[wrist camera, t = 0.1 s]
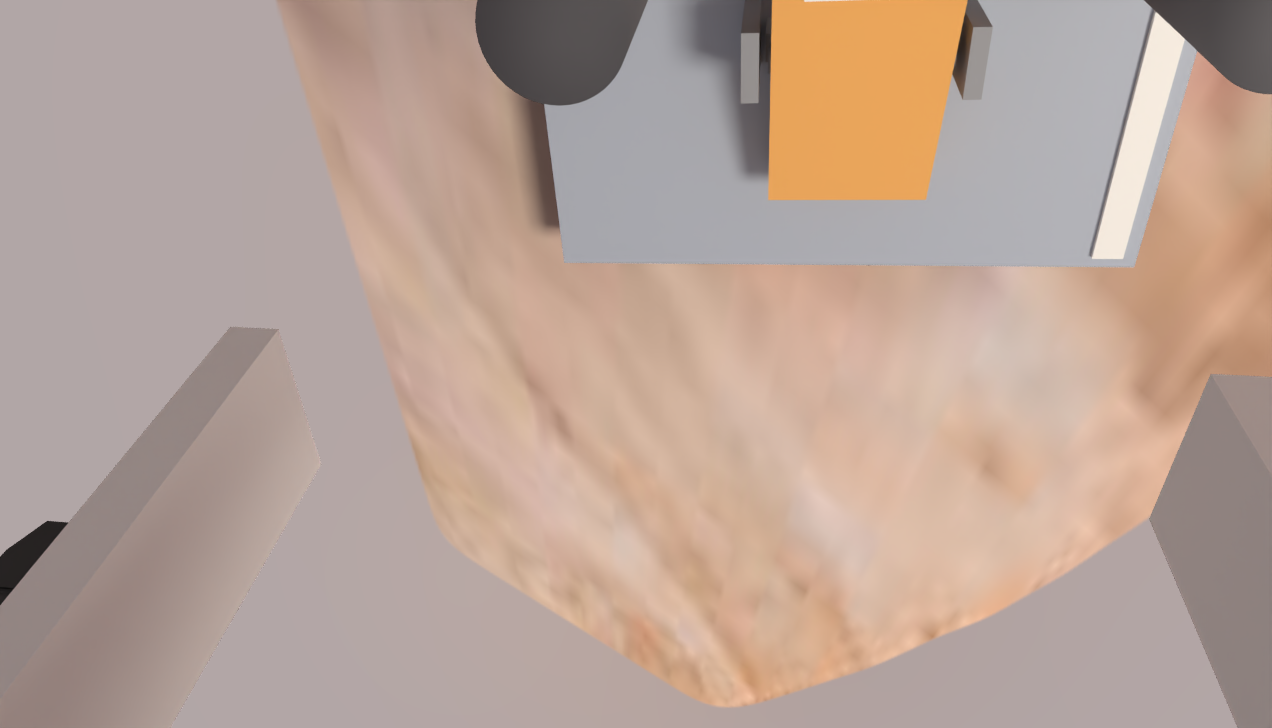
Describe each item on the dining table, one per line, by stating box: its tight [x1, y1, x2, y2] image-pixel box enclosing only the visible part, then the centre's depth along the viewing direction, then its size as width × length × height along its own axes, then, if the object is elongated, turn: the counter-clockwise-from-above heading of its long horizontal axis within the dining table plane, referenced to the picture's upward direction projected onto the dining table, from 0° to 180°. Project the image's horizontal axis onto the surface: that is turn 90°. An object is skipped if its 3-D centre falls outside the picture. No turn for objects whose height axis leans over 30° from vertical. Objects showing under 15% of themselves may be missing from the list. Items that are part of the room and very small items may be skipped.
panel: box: [544, 0, 1197, 267], centre depth 34 cm, size 20×24×7 cm
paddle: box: [768, 0, 968, 200], centre depth 32 cm, size 12×6×2 cm, turn 3°
